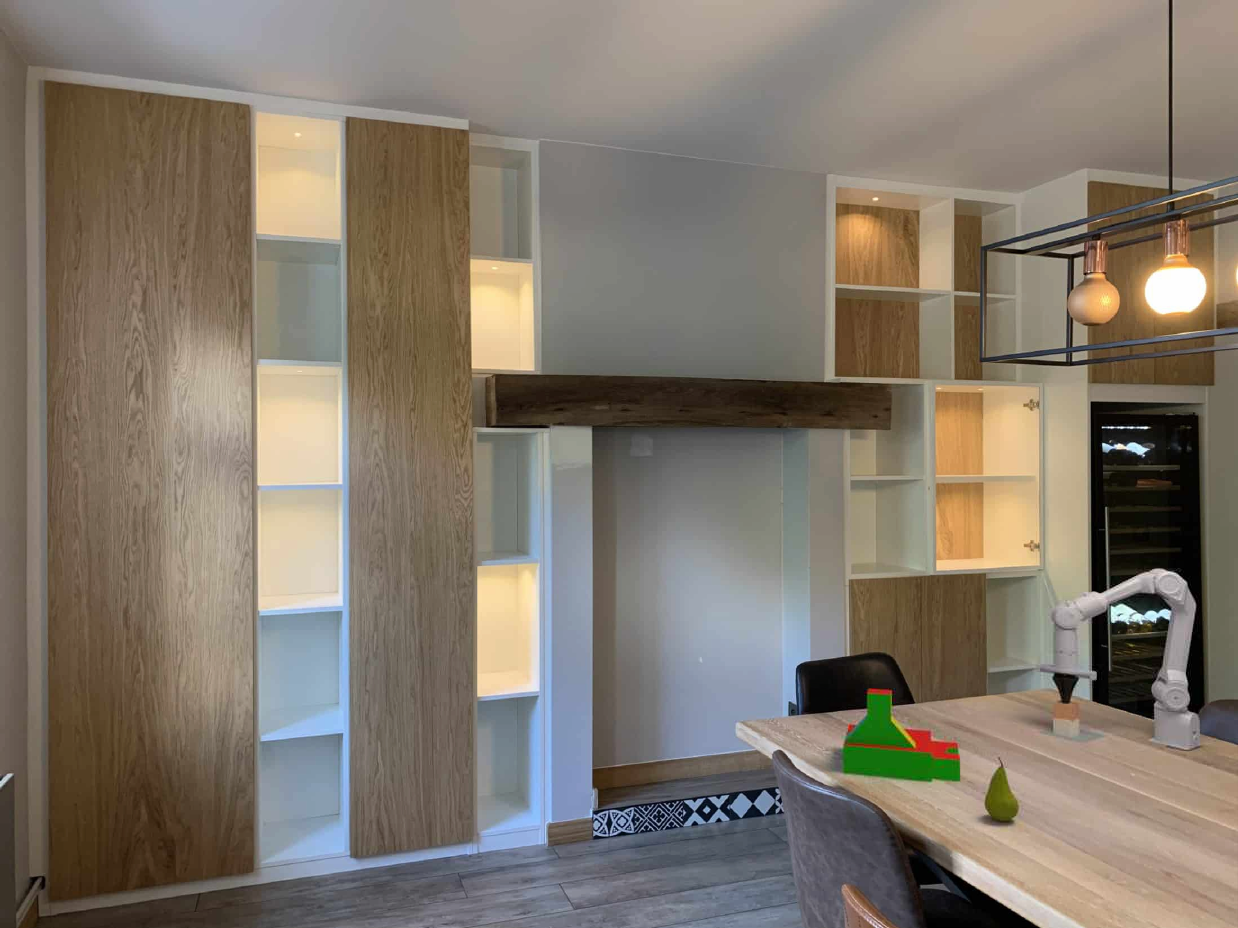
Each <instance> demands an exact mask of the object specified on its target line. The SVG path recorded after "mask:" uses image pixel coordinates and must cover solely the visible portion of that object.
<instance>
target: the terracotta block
mask: <svg viewBox="0 0 1238 928" xmlns="http://www.w3.org/2000/svg"><path fill="white" fill-rule="evenodd" d="M1079 709H1080V705H1079V702H1076V701H1070V703H1069V704H1064V703H1062V701H1061V699H1059V700H1057V701H1055V702H1053V718H1057V719H1062V720H1068V721H1074V720H1076V719H1079V718H1080V712H1079V711H1080V710H1079Z"/></svg>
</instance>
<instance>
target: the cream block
mask: <svg viewBox="0 0 1238 928" xmlns="http://www.w3.org/2000/svg"><path fill="white" fill-rule="evenodd" d="M1052 719H1053V720H1052V722H1053V727H1052V728H1053V733H1056V734H1060V735H1064V736H1068V737H1072V736H1075V735H1079V729H1080V719H1079V718H1078V719H1076V720H1074V721H1068V720H1062V719H1057V718H1054V717H1053V718H1052Z"/></svg>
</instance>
